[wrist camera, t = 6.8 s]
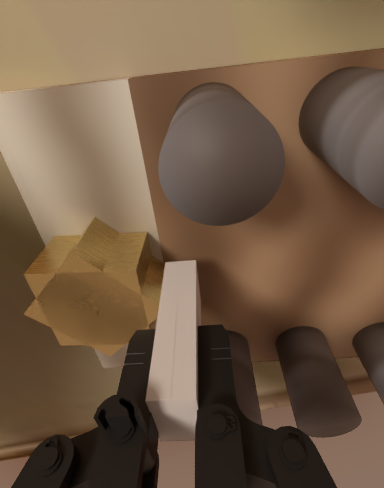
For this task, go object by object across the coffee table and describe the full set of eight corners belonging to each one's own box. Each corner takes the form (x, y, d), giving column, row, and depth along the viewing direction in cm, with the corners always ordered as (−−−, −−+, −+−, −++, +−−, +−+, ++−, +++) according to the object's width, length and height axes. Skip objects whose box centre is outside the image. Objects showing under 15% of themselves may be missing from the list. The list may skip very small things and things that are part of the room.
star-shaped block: (69, 314, 18) (48, 357, 15) (27, 219, 14) (-10, 256, 11) (177, 311, 17) (174, 355, 15) (164, 213, 14) (156, 249, 11)
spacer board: (106, 356, 22) (79, 447, 17) (-11, 93, 12) (-164, 124, 7) (406, 342, 20) (474, 436, 15) (568, 27, 10) (920, 3, 5)
